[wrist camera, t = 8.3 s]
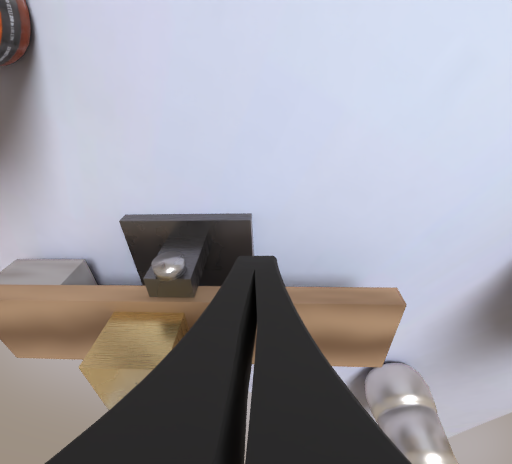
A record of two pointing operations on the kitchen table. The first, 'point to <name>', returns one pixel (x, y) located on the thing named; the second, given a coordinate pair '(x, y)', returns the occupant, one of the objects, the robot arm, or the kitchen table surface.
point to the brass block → (130, 351)
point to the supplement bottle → (13, 30)
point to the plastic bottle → (408, 413)
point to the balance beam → (137, 300)
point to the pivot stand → (186, 249)
